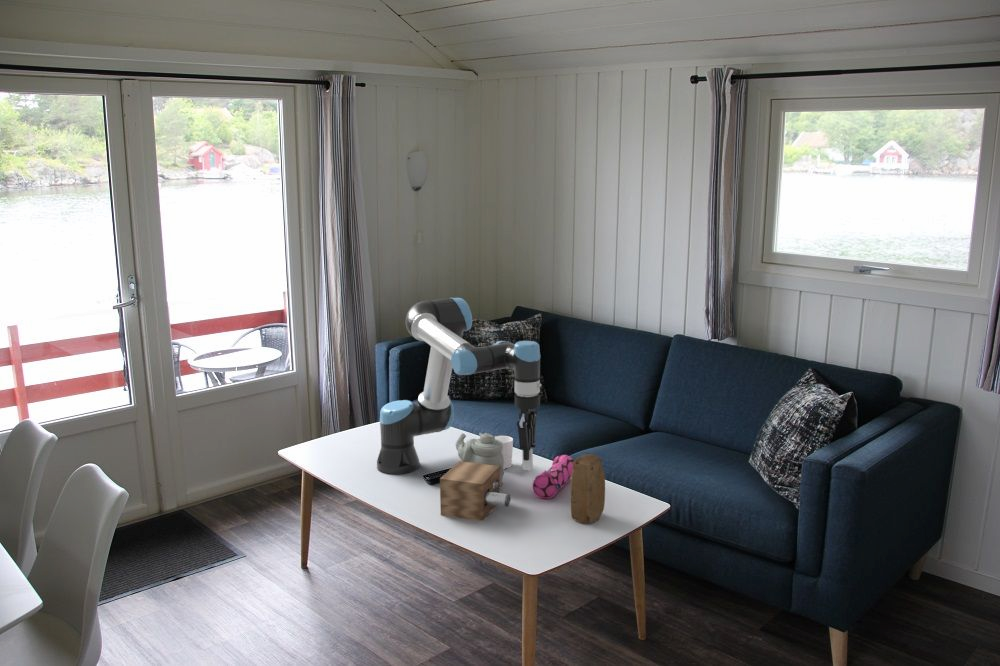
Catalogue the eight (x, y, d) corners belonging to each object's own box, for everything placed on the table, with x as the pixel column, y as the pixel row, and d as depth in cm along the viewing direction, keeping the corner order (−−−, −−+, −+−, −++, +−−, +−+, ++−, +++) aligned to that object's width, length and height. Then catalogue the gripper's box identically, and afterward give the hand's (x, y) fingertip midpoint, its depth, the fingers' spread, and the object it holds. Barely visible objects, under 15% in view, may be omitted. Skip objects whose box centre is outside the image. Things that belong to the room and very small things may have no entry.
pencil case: (559, 503, 278) (560, 473, 275) (531, 499, 281) (531, 470, 279) (578, 479, 297) (578, 452, 295) (551, 476, 300) (551, 448, 298)
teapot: (455, 476, 301) (454, 424, 297) (498, 473, 303) (498, 421, 299) (461, 494, 285) (460, 440, 281) (506, 490, 287) (506, 437, 283)
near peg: (463, 502, 268) (463, 491, 267) (468, 498, 271) (468, 486, 270) (506, 508, 263) (506, 497, 262) (510, 504, 266) (510, 492, 266)
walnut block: (440, 514, 269) (439, 478, 266) (459, 495, 283) (459, 461, 281) (482, 520, 264) (482, 484, 262) (500, 501, 279) (499, 466, 276)
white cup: (513, 462, 314) (513, 435, 312) (512, 469, 306) (512, 443, 304) (492, 461, 314) (492, 435, 312) (490, 469, 307) (489, 442, 305)
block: (588, 527, 259) (589, 464, 255) (567, 520, 264) (568, 458, 260) (608, 515, 268) (609, 454, 263) (588, 509, 272) (589, 449, 268)
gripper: (532, 400, 248) (533, 478, 253) (545, 389, 260) (545, 463, 265) (508, 398, 250) (508, 475, 255) (522, 387, 262) (522, 460, 267)
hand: (527, 469), depth 260 cm, fingers closed
